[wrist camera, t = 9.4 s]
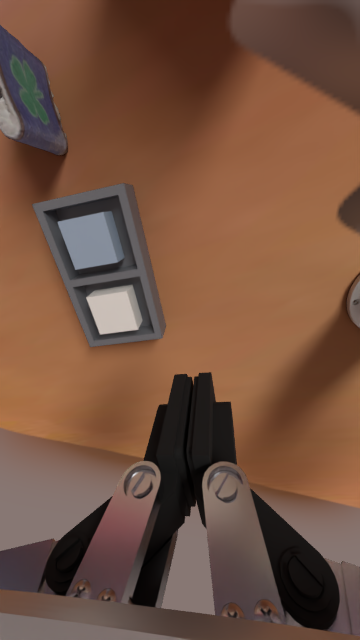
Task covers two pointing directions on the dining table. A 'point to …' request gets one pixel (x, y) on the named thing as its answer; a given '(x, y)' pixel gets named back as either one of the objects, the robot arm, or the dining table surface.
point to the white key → (115, 309)
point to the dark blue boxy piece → (27, 99)
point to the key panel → (122, 273)
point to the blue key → (92, 240)
